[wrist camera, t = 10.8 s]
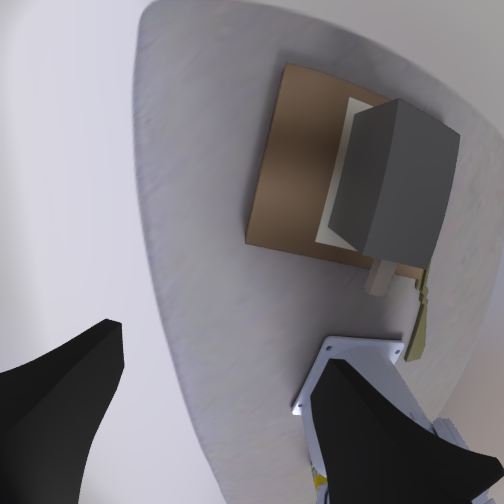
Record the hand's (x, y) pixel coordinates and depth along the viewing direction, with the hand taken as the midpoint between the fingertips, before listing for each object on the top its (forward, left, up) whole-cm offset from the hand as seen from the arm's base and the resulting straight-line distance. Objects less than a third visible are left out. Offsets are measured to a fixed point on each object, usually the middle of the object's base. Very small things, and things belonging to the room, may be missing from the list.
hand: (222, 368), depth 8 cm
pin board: (+8, -7, -9) cm, 14 cm away
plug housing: (+8, -7, -8) cm, 13 cm away
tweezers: (0, -16, -10) cm, 19 cm away
